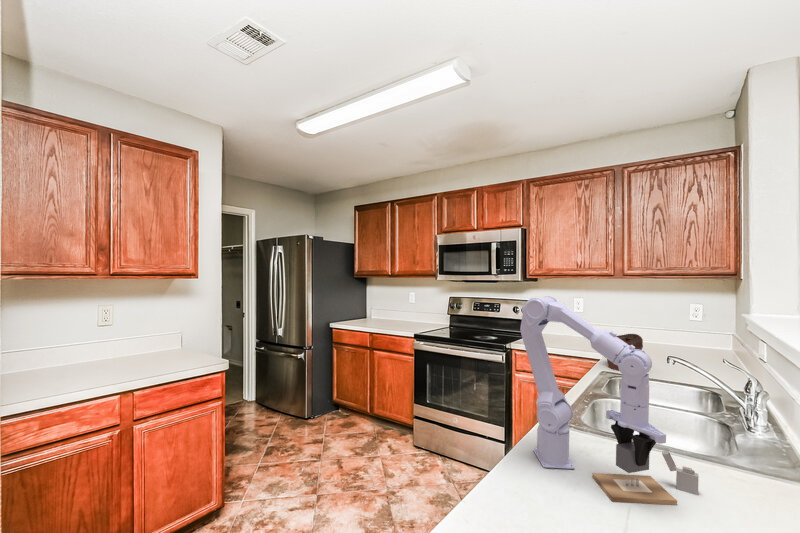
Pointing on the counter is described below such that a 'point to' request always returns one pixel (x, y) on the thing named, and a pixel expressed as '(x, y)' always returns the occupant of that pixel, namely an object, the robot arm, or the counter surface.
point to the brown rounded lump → (630, 340)
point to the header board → (633, 489)
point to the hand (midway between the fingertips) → (633, 460)
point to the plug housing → (628, 458)
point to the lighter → (683, 475)
